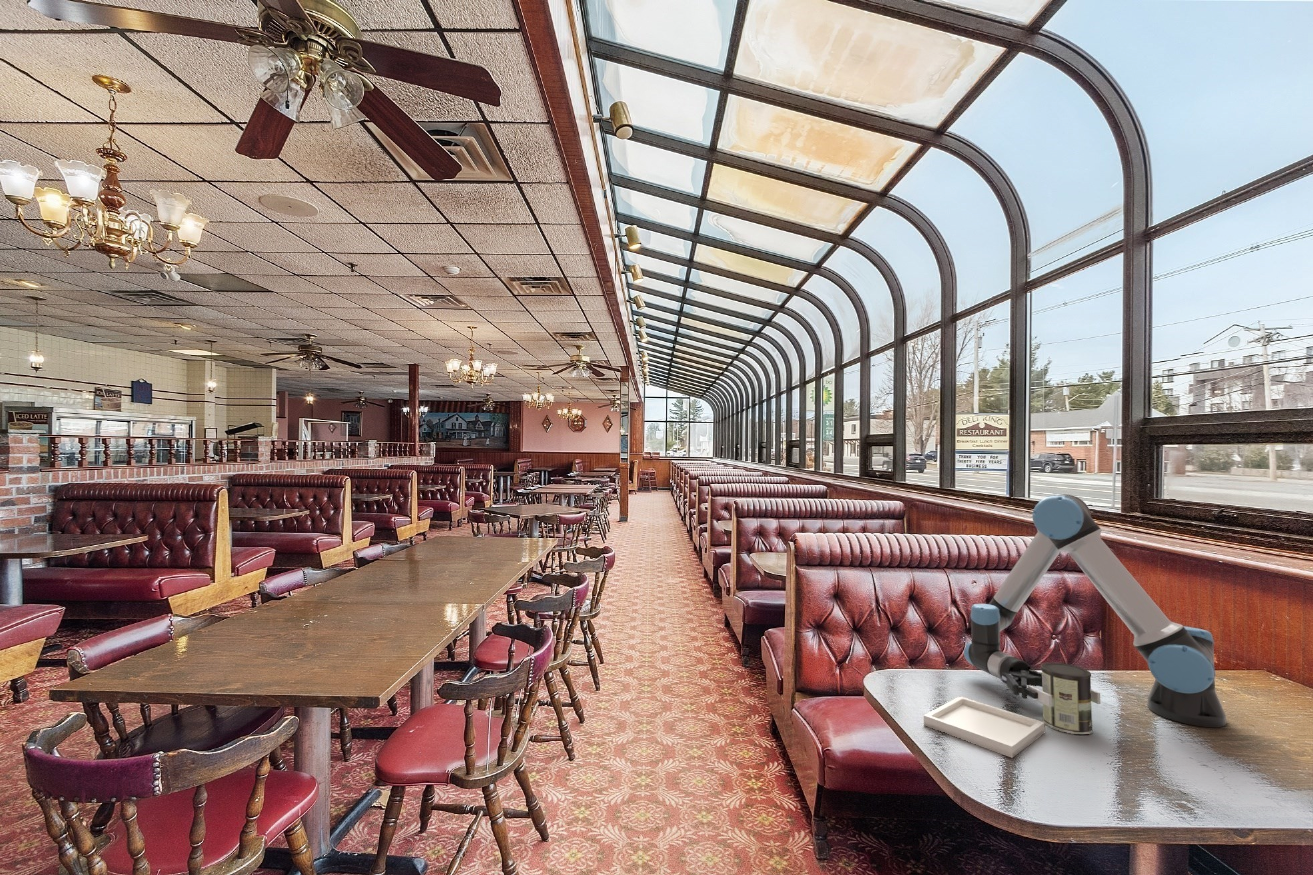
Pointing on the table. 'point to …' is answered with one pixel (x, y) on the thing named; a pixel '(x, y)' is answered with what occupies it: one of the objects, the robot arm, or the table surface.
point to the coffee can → (1067, 698)
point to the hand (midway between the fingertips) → (1075, 699)
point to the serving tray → (985, 725)
